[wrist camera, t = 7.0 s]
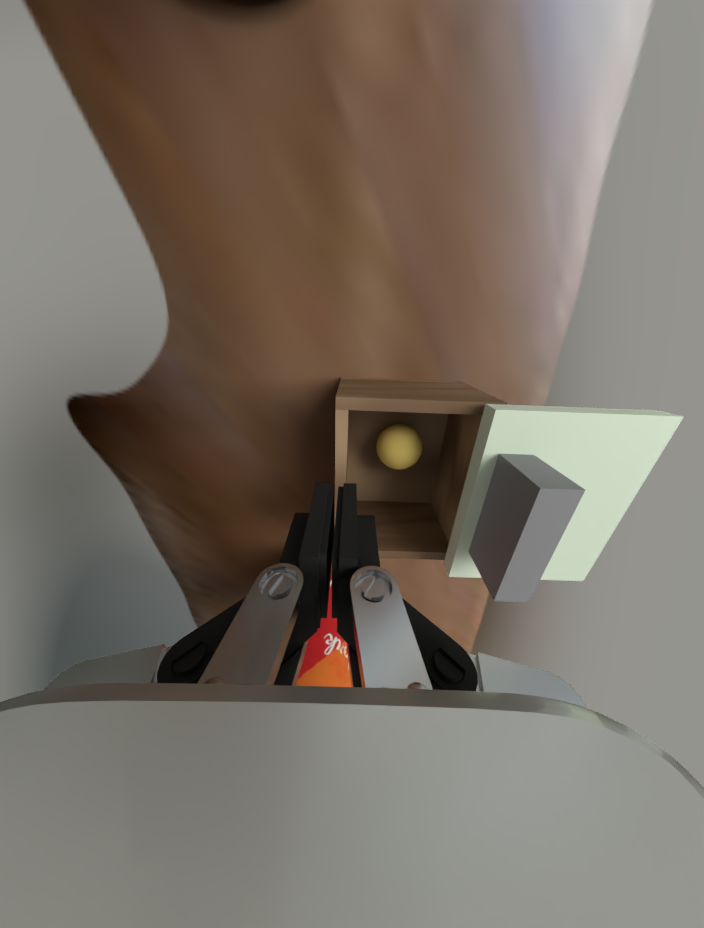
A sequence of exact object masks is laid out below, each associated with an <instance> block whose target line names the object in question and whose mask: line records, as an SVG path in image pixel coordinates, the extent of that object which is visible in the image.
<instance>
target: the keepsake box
mask: <svg viewBox="0 0 704 928" xmlns="http://www.w3.org/2000/svg"><path fill="white" fill-rule="evenodd" d="M485 404H502V405H507V403H506V402H504V401H501V400H499V399H497V398H495V397H493V396H491V395H488V394H486V393H484V392H482V391H480V390H478V389H475V388H473V387H471V386H469V385H467V384H465V383H463V382H455V381H428V380H402V379H375V378H349V377H341V380H340V383H339V387H338V390H337V394H336V404H335V518H336V507H337V496H338V486H342V487H343V486H344V483H354V484H356V486H357V515H374V517H375V526H376V535H377V544H378V553H379V558H404V559H435V560H445V556H446V552H447V549H448V545H449V541H450V537H451V533H452V530H453V526H454V522H455V518H456V514H457V510H458V507H459V503H460V499H461V495H462V491H463V488H464V484H465V480H466V476H467V472H468V468H469V465H470V461H471V457H472V453H473V449H474V445H475V442H476V438H477V434H478V430H479V426H480V423H481V419H482V415H483V411H484V407H485ZM396 424H404V425H407V426H410V427H412V428H413V429H414V430H416V431H417V433H418V434H419V436H420V438H421V440H422V453H421V456H420V458H419V459H418V461H417V462H416V463H415V464H414V465H412V466H411V467H409V468H406V469H399V470H398V469H392V468H390V467H388V466H386V465H385V464H384V463H383V462H382V461H381V460H380V458H379V456H378V454H377V448H376V446H377V440H378V438H379V436H380V434H381V433H382V432H383V431H384V430H385V429H386V428H388V427H389V426H392V425H396Z"/></svg>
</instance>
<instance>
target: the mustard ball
mask: <svg viewBox="0 0 704 928" xmlns="http://www.w3.org/2000/svg"><path fill="white" fill-rule="evenodd" d="M376 448H377V454H378V456H379V458H380V460H381V461H382V462H383V463H384V464H385V465H386V466H388V467H390V468H392V469H398V470H399V469H406V468H409V467H411V466H412V465H414V464H415V463H416V462H417V461H418V459H419V458H420V456H421V453H422V440H421V438H420V436H419V434H418V433H417V431H416V430H414V429H413V428H412V427H410V426H407V425H404V424H396V425H392V426H389V427H388V428H386V429H385V430H384V431H383V432H382V433H381V434H380V436H379V438H378V440H377V446H376Z"/></svg>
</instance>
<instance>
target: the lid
mask: <svg viewBox="0 0 704 928" xmlns="http://www.w3.org/2000/svg"><path fill="white" fill-rule="evenodd" d="M682 419H683V416H679V415H675V414H672V413H667V412H663V411H660V410H636V409H610V408H583V407H582V408H581V407H556V406H529V405H502V404H485V407H484V411H483V415H482V419H481V423H480V426H479V430H478V434H477V438H476V442H475V445H474V449H473V453H472V457H471V461H470V465H469V468H468V472H467V476H466V480H465V484H464V488H463V491H462V495H461V499H460V503H459V507H458V510H457V514H456V518H455V522H454V526H453V530H452V533H451V537H450V541H449V545H448V549H447V552H446V556H445V560H444V566H445V568H446V571H447V573H448V576H449V577H473V578H482V579H483V581H484V583H485V585H486V587H487V589H488V590H489V592H490V594H491V596H492V598H493V600H494V601H513V602H515V601H516V602H529V601H530V599H531V597H532V595H533V593H534V591H535V589H536V587H537V585H538V583H539V581H540V580H569V581H584V579H585V577H586V575H587V574H588V572H589V571H590V569H591V567H592V566H593V564H594V563H595V561H596V559H597V558H598V556H599V554H600V553H601V551H602V549H603V548H604V546H605V545H606V543H607V541H608V539H609V538H610V536H611V535H612V533H613V532H614V530H615V528H616V527H617V524H618V523H619V522H620V520H621V518H622V517H623V515H624V513H625V512H626V510H627V509H628V507H629V505H630V504H631V502H632V500H633V499H634V497H635V496H636V494H637V492H638V491H639V489H640V487H641V485H642V484H643V482H644V480H645V479H646V478H647V476H648V474H649V472H650V471H651V469H652V468H653V466H654V464H655V463H656V461H657V459H658V458H659V456H660V455H661V453H662V451H663V450H664V448H665V446H666V445H667V443H668V441H669V440H670V438H671V437H672V435H673V433H674V432H675V430H676V428H677V427H678V425H679V423H680V422H681V420H682Z"/></svg>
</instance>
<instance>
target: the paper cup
mask: <svg viewBox="0 0 704 928" xmlns="http://www.w3.org/2000/svg"><path fill="white" fill-rule="evenodd" d="M296 686H322V687H351V680H350V671H349V663H348V654H347V643H346V642H345V640H344V639H343V638H342V637H341V636H340V635H339V634H338V633H337V618H332V567H331V578H330V589H329V600H328V611H327V618H321V624H320V628H318V630H317V632H316V633H315V634H314V635H313V636H312V637H310V638H309V639H308V642H307V648H306V651H305V655H304V658H303V662H302V666H301V669H300V673H299V676H298V680H297V683H296Z"/></svg>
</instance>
